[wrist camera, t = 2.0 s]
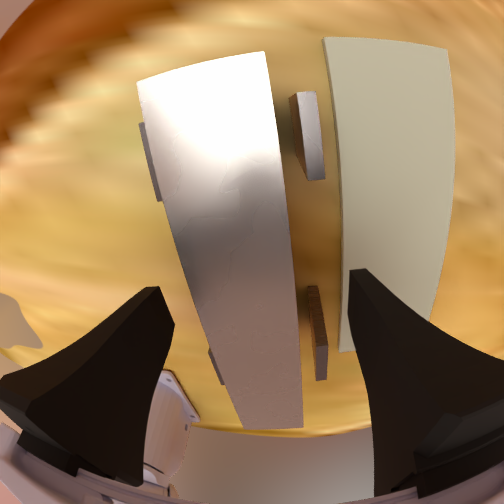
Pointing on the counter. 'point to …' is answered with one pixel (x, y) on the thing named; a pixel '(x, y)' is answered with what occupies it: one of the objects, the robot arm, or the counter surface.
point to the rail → (231, 226)
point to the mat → (392, 165)
